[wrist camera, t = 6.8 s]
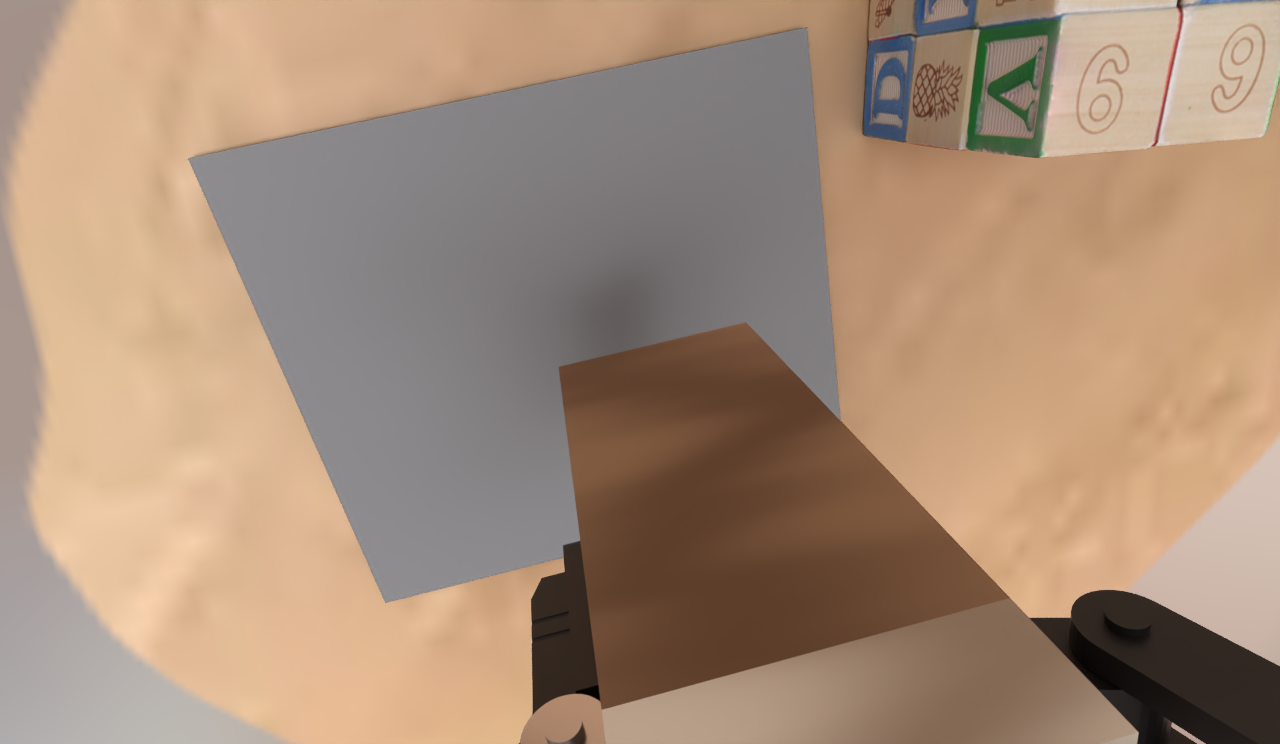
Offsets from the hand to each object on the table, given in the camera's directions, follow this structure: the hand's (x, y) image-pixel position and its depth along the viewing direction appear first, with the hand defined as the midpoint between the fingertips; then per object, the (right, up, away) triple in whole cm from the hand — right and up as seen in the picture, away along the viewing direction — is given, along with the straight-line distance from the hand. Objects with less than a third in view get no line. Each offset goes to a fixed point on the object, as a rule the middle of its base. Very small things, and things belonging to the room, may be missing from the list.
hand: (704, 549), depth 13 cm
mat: (-4, +4, +12) cm, 14 cm away
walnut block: (0, +1, +2) cm, 2 cm away
